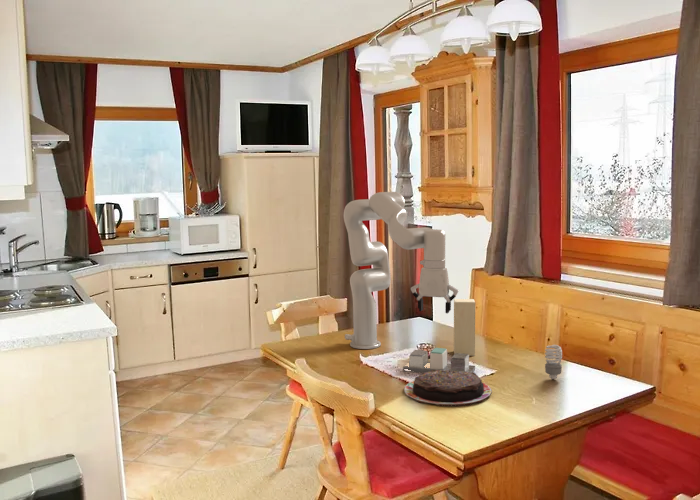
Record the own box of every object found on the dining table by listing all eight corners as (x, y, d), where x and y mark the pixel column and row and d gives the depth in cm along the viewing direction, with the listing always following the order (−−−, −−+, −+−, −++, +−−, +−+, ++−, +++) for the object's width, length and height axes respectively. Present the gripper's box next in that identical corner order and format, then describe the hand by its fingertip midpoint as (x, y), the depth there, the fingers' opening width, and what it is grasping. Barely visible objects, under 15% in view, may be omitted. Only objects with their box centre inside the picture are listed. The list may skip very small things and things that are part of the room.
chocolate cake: (401, 380, 228) (401, 361, 227) (483, 379, 227) (483, 360, 226) (406, 409, 200) (406, 388, 200) (499, 408, 199) (499, 386, 199)
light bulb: (562, 377, 226) (562, 343, 224) (561, 382, 220) (562, 347, 219) (544, 376, 227) (545, 342, 226) (544, 381, 222) (544, 346, 221)
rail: (403, 371, 237) (403, 354, 236) (410, 364, 245) (410, 348, 245) (470, 377, 228) (470, 360, 228) (475, 369, 237) (475, 353, 236)
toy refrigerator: (473, 350, 262) (473, 298, 259) (475, 355, 255) (475, 302, 252) (453, 350, 263) (453, 298, 260) (454, 355, 255) (454, 302, 253)
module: (430, 368, 235) (430, 352, 234) (434, 363, 241) (434, 347, 240) (442, 369, 233) (442, 353, 232) (447, 364, 239) (447, 348, 238)
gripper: (408, 264, 235) (407, 312, 237) (456, 267, 229) (455, 315, 231) (413, 261, 242) (413, 307, 244) (460, 264, 236) (460, 311, 238)
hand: (434, 311), depth 238 cm, fingers open, 9 cm apart
